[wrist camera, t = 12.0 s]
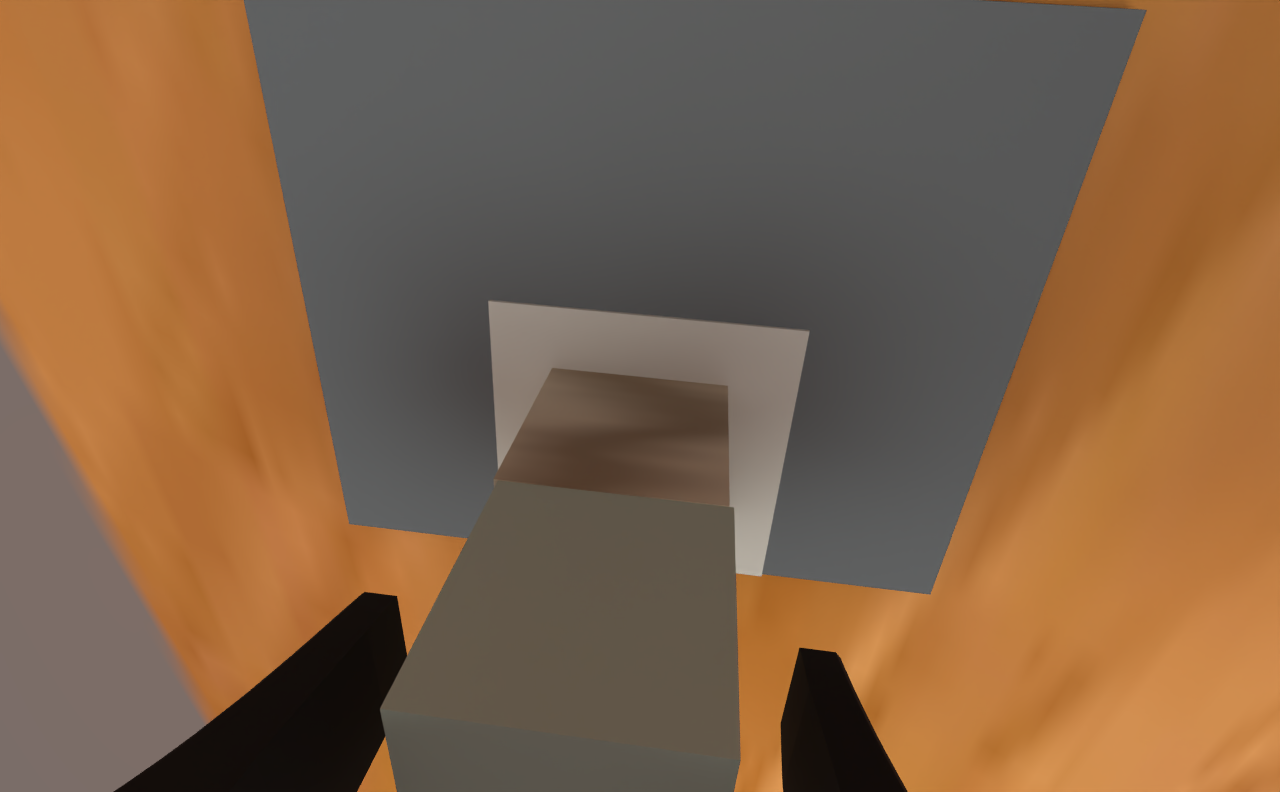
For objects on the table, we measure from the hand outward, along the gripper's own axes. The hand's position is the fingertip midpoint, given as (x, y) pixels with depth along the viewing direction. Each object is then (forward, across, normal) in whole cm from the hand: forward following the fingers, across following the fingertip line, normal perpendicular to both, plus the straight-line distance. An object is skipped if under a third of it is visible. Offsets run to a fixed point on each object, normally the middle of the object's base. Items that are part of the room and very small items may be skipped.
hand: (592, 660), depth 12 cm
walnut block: (+7, 0, 0) cm, 7 cm away
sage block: (+2, 0, 0) cm, 2 cm away
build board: (+8, 0, -3) cm, 8 cm away
